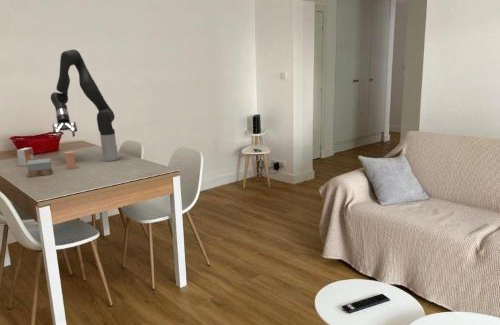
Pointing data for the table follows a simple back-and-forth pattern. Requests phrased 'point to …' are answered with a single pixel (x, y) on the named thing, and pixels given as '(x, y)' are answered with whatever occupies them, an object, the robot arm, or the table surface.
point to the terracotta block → (70, 160)
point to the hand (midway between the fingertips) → (66, 136)
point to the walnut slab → (40, 172)
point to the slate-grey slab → (39, 164)
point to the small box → (25, 156)
